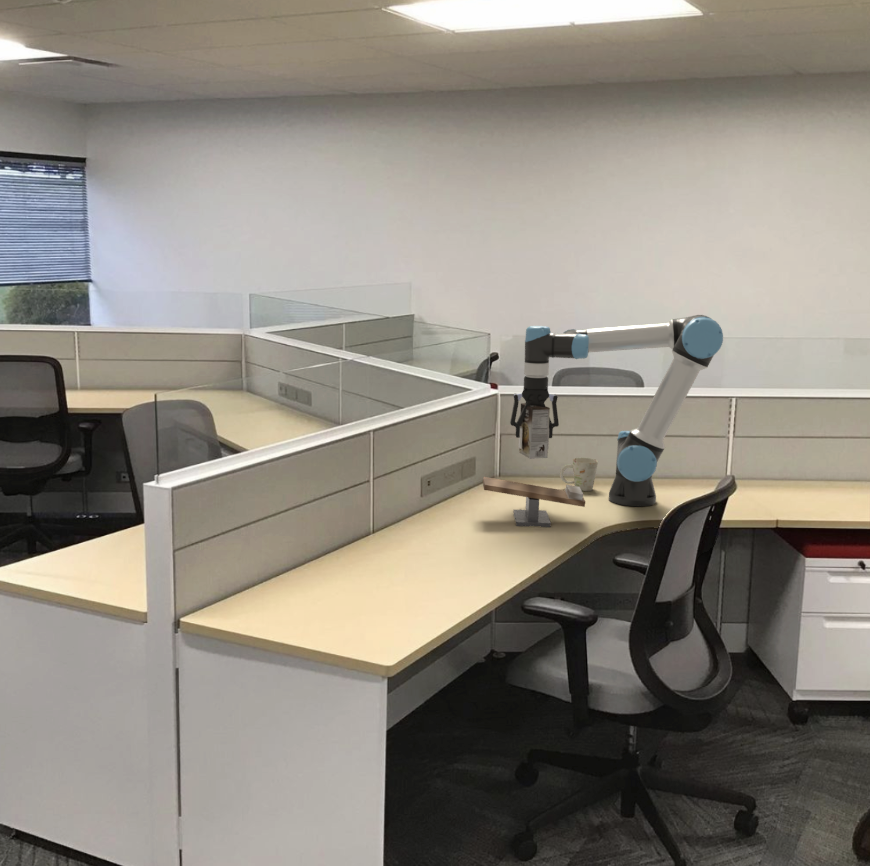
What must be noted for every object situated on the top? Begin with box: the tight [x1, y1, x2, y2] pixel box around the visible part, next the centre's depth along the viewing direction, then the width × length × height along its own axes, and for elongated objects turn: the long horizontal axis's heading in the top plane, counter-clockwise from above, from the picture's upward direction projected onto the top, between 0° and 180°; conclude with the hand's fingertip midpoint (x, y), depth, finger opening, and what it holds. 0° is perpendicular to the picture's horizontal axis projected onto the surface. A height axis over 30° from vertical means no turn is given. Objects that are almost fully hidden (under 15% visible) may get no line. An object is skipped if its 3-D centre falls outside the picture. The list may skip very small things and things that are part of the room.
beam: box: [482, 476, 586, 508], centre depth 299 cm, size 30×10×4 cm, turn 90°
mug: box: [559, 457, 599, 492], centre depth 340 cm, size 8×13×10 cm, turn 89°
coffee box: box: [518, 402, 551, 460], centre depth 315 cm, size 9×6×16 cm
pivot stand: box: [512, 497, 552, 528], centre depth 300 cm, size 10×14×8 cm
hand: (533, 447), depth 316 cm, fingers closed on coffee box, 8 cm apart
